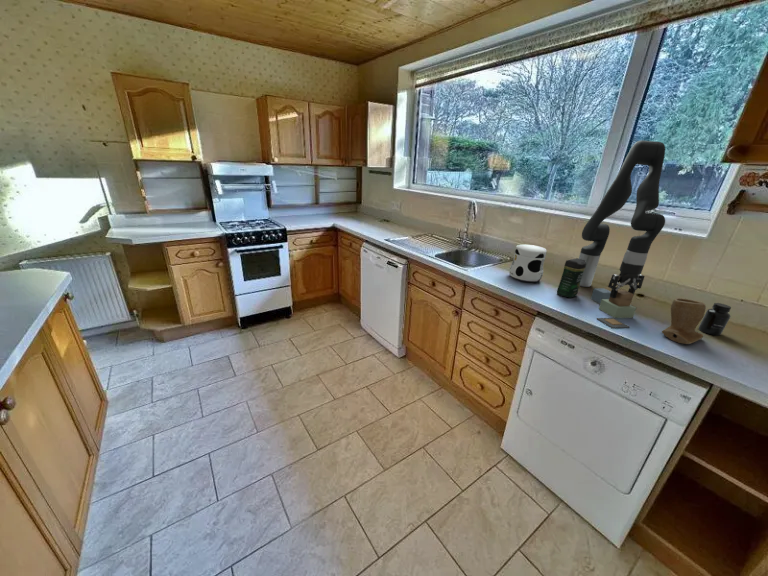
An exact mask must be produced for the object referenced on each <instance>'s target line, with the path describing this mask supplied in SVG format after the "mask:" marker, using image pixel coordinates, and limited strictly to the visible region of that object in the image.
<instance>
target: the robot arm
mask: <svg viewBox="0 0 768 576" xmlns="http://www.w3.org/2000/svg"><path fill="white" fill-rule="evenodd" d="M665 154H666V146H665V144H664V142H661V141H653V140H637V141H636V142H635V143H634V144H633V145H632V146H631V148H630V149H629V152H627V155H626V157H625V159H624V161H623V163H622V166H621V167H620V169H619V171H618V172H617V175H616V177H615V178H614V180H613V181H612V184H610V187H609V188H608V190H607V191H606V193H605V195H604V196H603V198H602V200H601V202H600V204H599V205H598V207H597V208H596V210H595V212H594V213H593V214H592V216H591V217H590V219H589V220H588V221H587V222H586V224H585V225H584V227H583V229H582V231H581V238H582V240H584V241H588V242H592V243H590V244H588V245H585V246H582V247H581V249H580V253H579V256H578V259H582V260H585V262H586V267H585V270H584V272H583V275H582V278H581V282H580V286H579V287H584V288H585V287H587V288H588V287H589V288H590V287H591V286H592V283H593V280H594V277H595V275H596V274H595V273H596V270H597V267H598V265H599V261H600V259H601V255H602V252H603V251H604V250H605V246H606V244H607V241H608V239H609V236H610V232H611V231H610V229H611V228H610V226H609V225H608V224H606V223H602V222H604V220H605V219H607V218H608V217H611V216H612V215H614V214H615V213H617V212H618V211H620V210H621V209H622V208H623V207H625V205H626V203H627V201H628V200H629V199H630V198H631V195H632V191H633V188H632V187H633V185H632V178H631V176H632V174H633V171H634V169H635V167H636V166H637V165H639V166H648V173H647V175H646V176H645V177H644V179H643V180H642V182H641V183H640V184H639V185H638V187H637V190H636V198H635V199H636V202H635V203H636V205H635V210H634V213H633V215H632V218H631V220H630V226H631V229H633V230H634V231H638V232H644V234H641V235H634V236H632V237H630V240H629V243H628V246H627V249H626V251H625V253H624V255H623V258H622V260H621V264H620V267H619V271H620V273H619V274H614V273H613V274H612V275H611V277H610V280H609V283H608V285H607V287H608V288H610V289H611V290H610V291H611V293H610V297H611V298H616V295H617V292H618V289H620V288H623V287H624V286H628V287H629V288H628V290H627V291H628V292H630V293H632V294H634V295H635V294H636V293H635V292H636V290H638V289H642V285H643V283H644V280H645V275H643V274H642V272H643V269H644V267H645V264H646V261H647V258H648V254H649V251H650V249H651V246H652V243H653V242H654V241H655V240H656V238H657V236H658V235H659V234H660V232H661V231H662V230H663V229H664V226H665V225H666V218H665V216H664V214H661V213H649V212H648V211H653V210H656V209H657V208H658V207H659V205H660V182H661V175H662V171H663V165H664V161H665V156H666V155H665Z"/></svg>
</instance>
